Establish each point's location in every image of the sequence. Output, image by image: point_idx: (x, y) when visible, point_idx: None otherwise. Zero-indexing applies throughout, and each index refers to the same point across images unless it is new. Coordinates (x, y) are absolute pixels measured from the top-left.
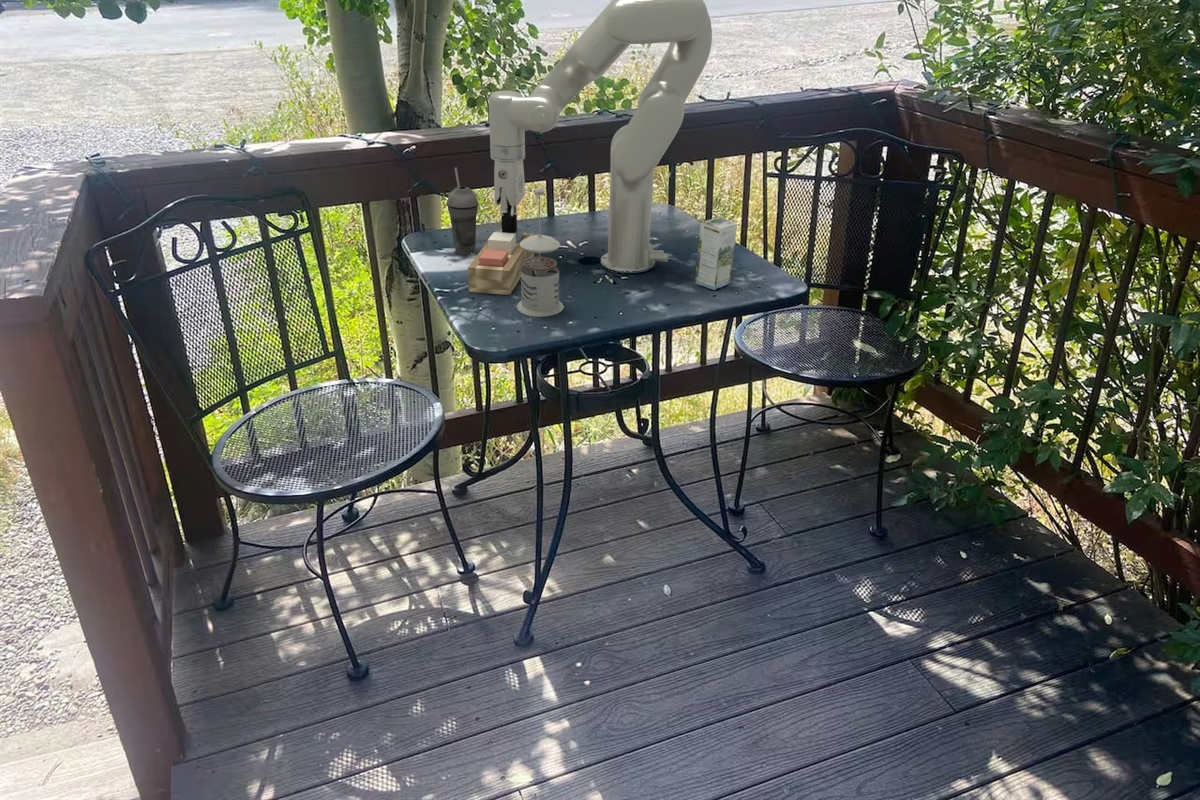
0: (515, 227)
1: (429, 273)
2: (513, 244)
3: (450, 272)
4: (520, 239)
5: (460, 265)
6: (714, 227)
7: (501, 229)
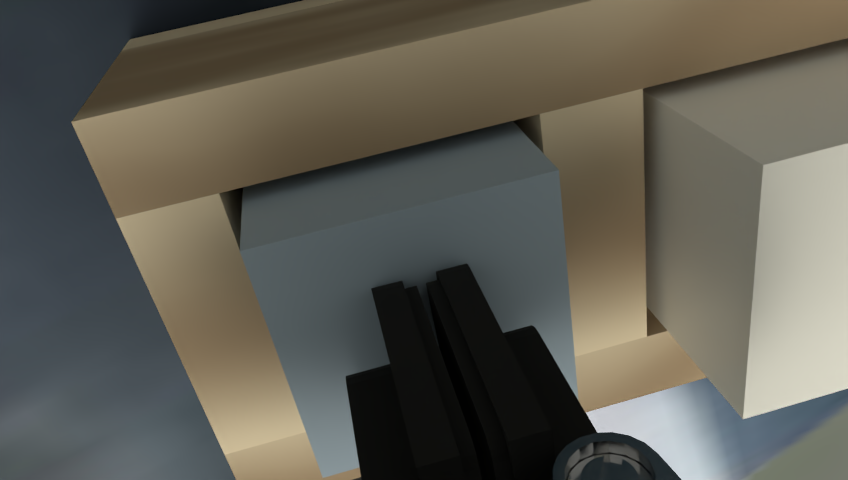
0: (477, 301)
1: (744, 470)
2: (821, 93)
3: (710, 398)
4: (417, 163)
5: (586, 413)
6: None
7: None
